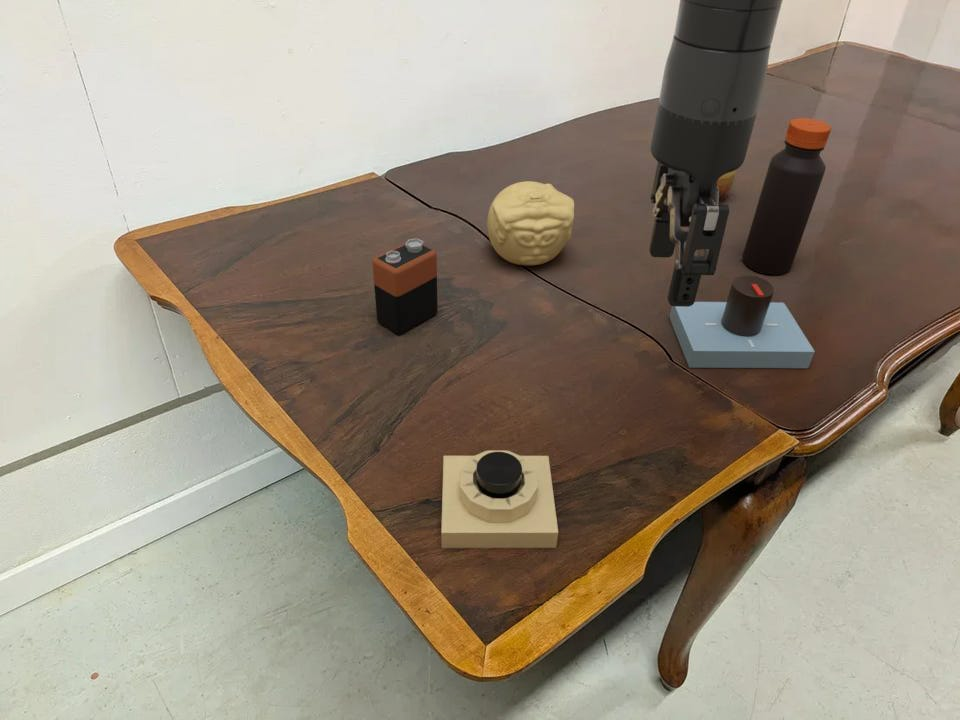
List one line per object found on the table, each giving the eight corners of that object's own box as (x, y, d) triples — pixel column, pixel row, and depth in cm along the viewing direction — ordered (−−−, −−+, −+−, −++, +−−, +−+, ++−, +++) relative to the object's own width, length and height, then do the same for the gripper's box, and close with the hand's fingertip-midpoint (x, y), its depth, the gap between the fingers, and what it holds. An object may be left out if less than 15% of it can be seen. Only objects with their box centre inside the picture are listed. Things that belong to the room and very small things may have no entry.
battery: (439, 314, 89) (438, 243, 83) (399, 337, 85) (395, 265, 79) (415, 300, 91) (412, 231, 85) (375, 322, 87) (369, 251, 81)
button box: (546, 471, 69) (550, 442, 66) (556, 548, 62) (560, 519, 59) (443, 471, 69) (443, 441, 66) (441, 548, 62) (441, 519, 59)
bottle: (771, 248, 104) (815, 113, 92) (801, 272, 99) (851, 132, 87) (731, 255, 102) (770, 117, 90) (760, 279, 97) (805, 137, 85)
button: (519, 464, 65) (520, 451, 63) (522, 498, 61) (523, 485, 60) (475, 464, 64) (476, 451, 63) (476, 498, 61) (476, 485, 60)
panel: (778, 318, 90) (784, 301, 88) (808, 368, 82) (815, 350, 81) (669, 317, 90) (673, 300, 88) (688, 367, 82) (693, 349, 80)
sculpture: (494, 278, 96) (497, 206, 89) (480, 235, 105) (482, 166, 98) (576, 273, 97) (585, 201, 91) (555, 231, 107) (562, 163, 100)
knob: (715, 314, 86) (727, 273, 82) (752, 313, 86) (765, 272, 83) (729, 337, 82) (742, 295, 79) (767, 335, 83) (781, 294, 79)
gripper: (787, 135, 50) (731, 324, 60) (730, 74, 61) (692, 241, 71) (680, 133, 50) (642, 322, 60) (643, 72, 61) (617, 240, 71)
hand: (669, 278), depth 65 cm, fingers open, 8 cm apart
